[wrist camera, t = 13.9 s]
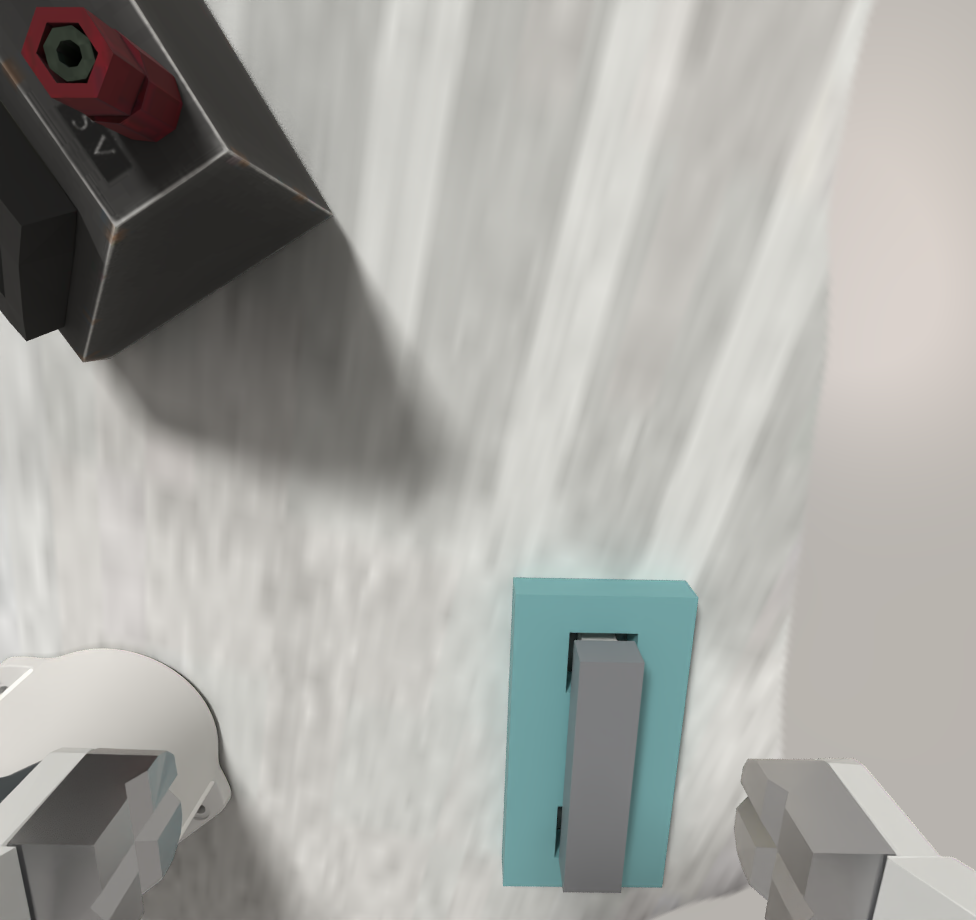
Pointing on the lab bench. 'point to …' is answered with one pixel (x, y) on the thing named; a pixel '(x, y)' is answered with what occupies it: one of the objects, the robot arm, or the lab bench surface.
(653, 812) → the mounting plate
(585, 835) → the pin bar
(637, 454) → the lab bench surface
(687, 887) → the lab bench surface
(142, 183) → the voltmeter
